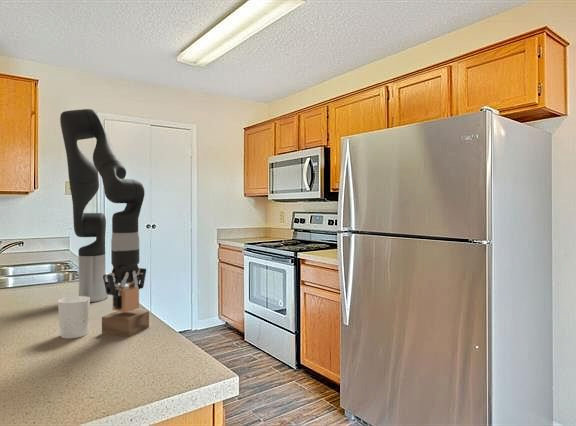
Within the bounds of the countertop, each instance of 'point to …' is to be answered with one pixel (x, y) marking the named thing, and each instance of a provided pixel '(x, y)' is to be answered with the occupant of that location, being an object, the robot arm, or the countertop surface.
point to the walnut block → (125, 322)
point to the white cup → (74, 316)
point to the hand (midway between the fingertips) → (125, 306)
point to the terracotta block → (129, 299)
